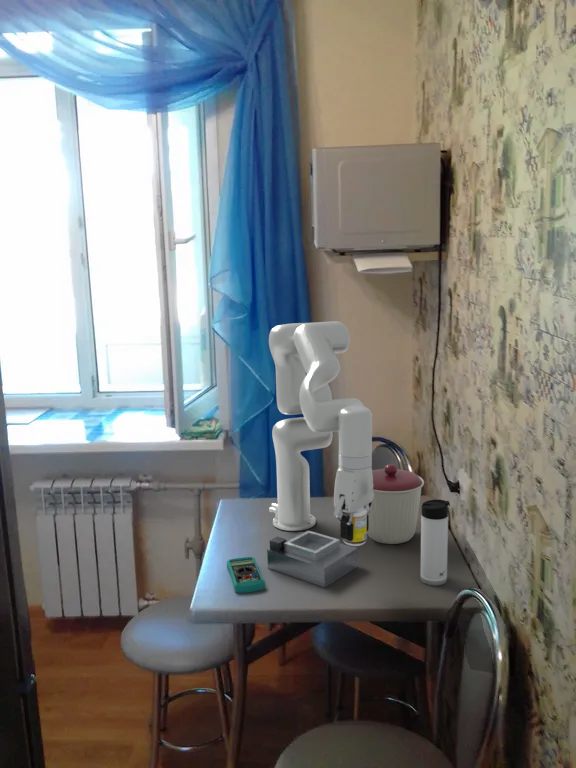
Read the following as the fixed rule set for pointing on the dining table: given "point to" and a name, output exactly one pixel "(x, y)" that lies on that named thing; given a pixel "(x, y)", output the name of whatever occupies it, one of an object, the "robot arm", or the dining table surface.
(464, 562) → the dining table surface
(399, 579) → the dining table surface
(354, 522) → the supplement bottle
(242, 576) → the digital multimeter
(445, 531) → the travel mug
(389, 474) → the canister
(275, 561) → the grey square socket fixture
